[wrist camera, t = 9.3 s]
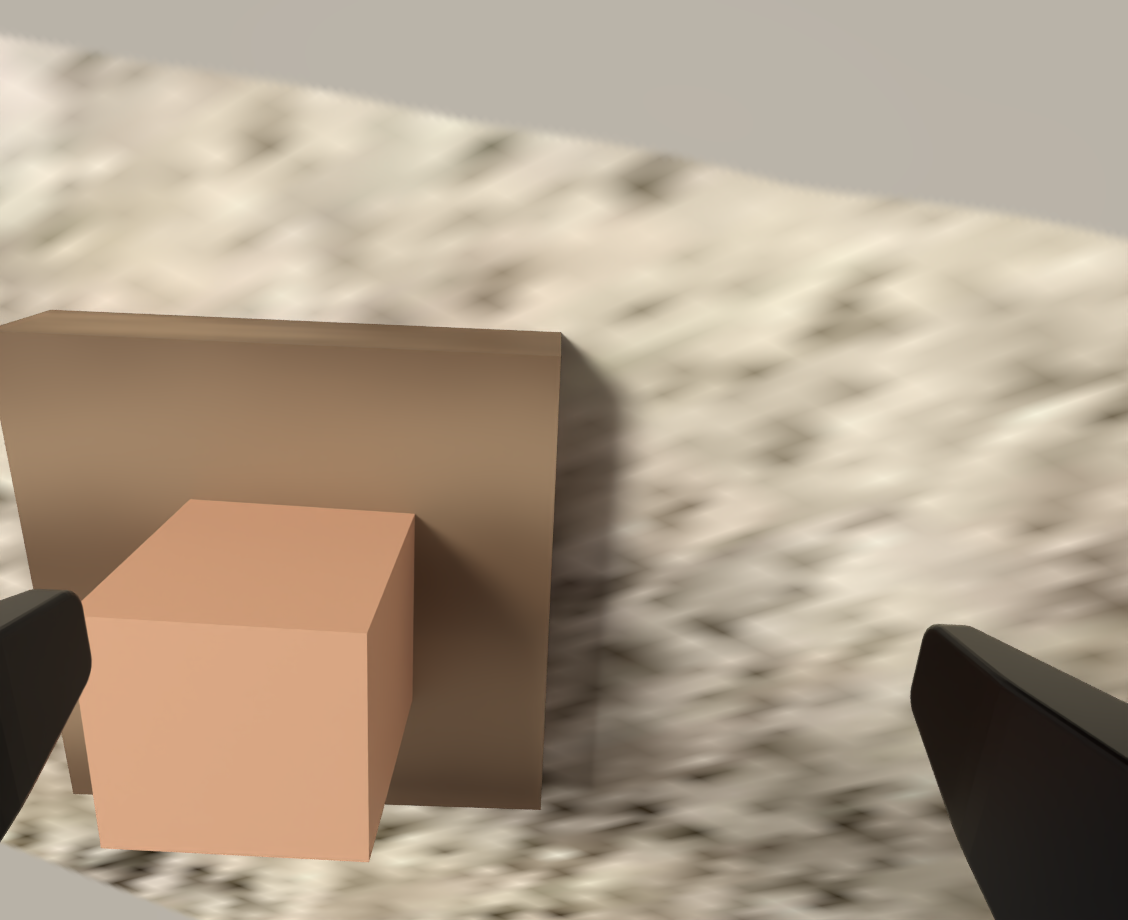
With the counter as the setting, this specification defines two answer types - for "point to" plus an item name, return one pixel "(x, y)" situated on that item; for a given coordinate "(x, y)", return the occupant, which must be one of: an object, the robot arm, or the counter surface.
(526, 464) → the base slab
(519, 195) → the counter surface
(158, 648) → the cube
